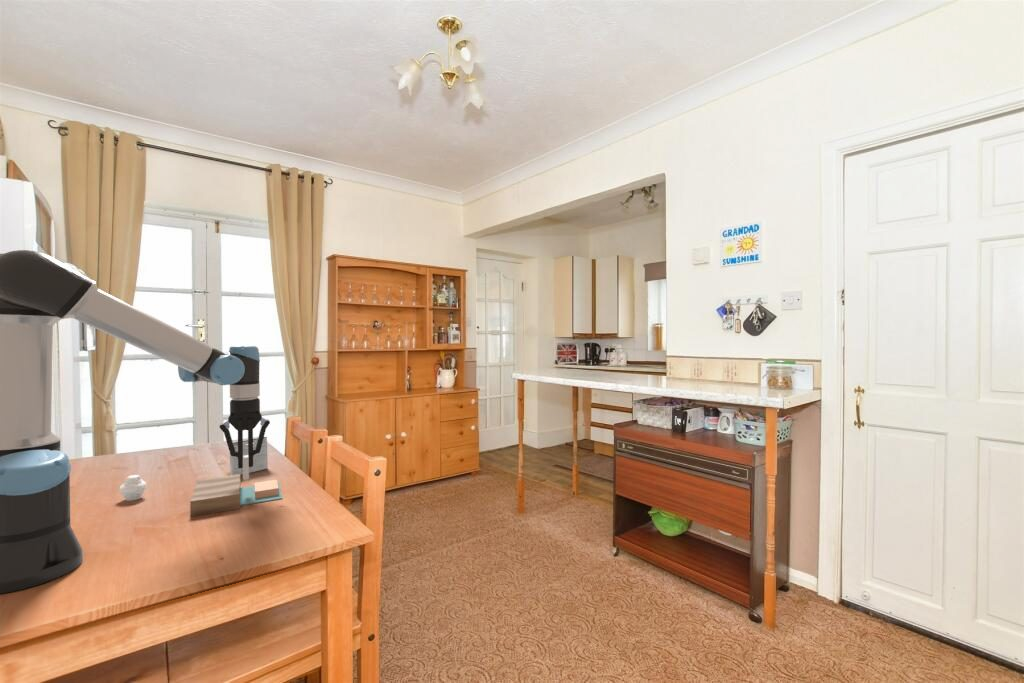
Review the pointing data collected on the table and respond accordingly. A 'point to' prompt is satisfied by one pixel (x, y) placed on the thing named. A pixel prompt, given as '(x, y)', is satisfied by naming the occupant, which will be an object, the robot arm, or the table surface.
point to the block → (266, 488)
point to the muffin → (133, 488)
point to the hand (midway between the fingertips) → (245, 478)
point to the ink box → (258, 459)
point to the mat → (249, 496)
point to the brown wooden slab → (215, 495)
